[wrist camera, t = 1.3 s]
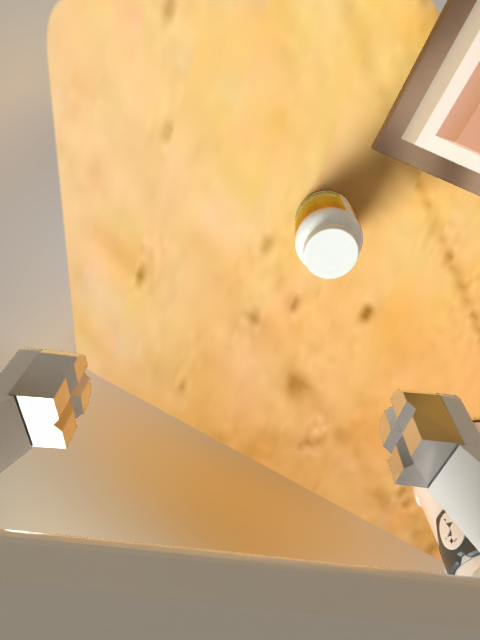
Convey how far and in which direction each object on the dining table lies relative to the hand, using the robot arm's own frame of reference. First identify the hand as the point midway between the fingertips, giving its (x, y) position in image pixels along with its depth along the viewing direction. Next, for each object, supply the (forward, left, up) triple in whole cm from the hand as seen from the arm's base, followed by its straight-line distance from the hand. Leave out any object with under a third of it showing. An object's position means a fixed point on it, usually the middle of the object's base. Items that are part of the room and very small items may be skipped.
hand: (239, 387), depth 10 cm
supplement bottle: (-6, +2, -29) cm, 30 cm away
